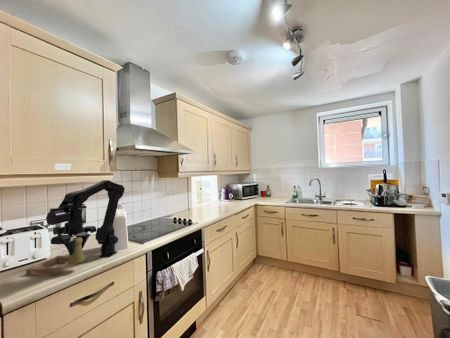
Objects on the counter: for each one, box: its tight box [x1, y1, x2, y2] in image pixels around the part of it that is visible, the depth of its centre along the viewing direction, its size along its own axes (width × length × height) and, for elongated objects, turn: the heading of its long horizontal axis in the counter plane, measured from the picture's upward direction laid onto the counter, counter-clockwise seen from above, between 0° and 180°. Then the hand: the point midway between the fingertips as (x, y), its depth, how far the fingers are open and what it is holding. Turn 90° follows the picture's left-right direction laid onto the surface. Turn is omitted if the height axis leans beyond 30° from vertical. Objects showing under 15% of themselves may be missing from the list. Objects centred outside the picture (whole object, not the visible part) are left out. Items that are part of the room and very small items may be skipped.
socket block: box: [25, 255, 84, 277], centre depth 97 cm, size 15×15×2 cm
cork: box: [68, 236, 85, 265], centre depth 93 cm, size 6×6×11 cm
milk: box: [113, 203, 129, 251], centre depth 122 cm, size 12×12×26 cm
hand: (76, 252), depth 93 cm, fingers closed on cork, 4 cm apart
